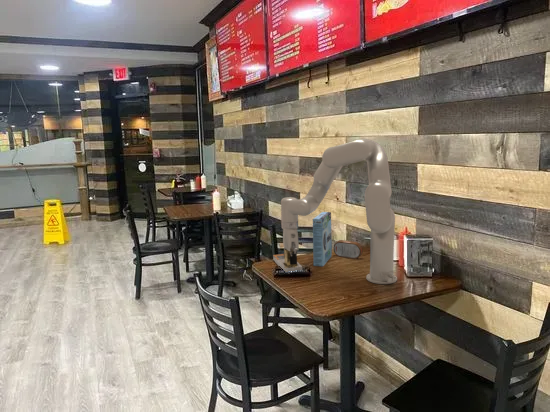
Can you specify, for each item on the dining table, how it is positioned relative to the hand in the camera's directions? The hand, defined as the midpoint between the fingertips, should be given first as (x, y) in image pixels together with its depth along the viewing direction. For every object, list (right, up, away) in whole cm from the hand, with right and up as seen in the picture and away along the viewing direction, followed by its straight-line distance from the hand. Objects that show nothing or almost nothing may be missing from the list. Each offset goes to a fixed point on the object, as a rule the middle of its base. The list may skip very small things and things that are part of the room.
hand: (290, 261), depth 193 cm
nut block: (0, -4, +1) cm, 4 cm away
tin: (+29, -1, +19) cm, 35 cm away
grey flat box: (-1, -3, +6) cm, 7 cm away
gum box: (+16, -2, +14) cm, 22 cm away
